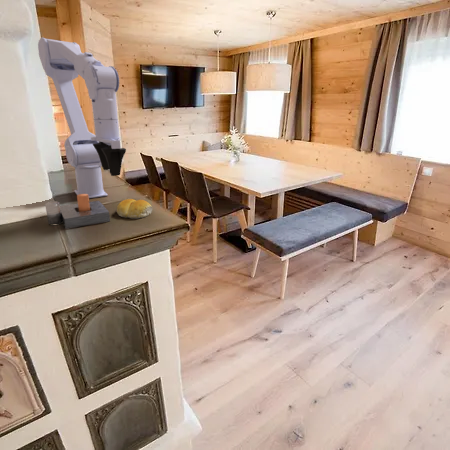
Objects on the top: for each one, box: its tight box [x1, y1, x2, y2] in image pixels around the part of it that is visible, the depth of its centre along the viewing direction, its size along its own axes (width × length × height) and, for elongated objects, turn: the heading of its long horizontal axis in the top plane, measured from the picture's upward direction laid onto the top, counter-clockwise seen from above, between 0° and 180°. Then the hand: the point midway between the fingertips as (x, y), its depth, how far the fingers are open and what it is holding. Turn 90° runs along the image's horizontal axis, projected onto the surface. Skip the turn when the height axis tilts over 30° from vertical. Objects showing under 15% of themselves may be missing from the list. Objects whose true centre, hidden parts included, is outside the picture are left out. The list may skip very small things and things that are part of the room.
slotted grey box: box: [44, 200, 111, 230], centre depth 76 cm, size 10×13×5 cm
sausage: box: [76, 194, 90, 212], centre depth 77 cm, size 3×3×6 cm
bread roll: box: [116, 198, 153, 220], centre depth 82 cm, size 8×9×4 cm
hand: (111, 172), depth 83 cm, fingers open, 7 cm apart
